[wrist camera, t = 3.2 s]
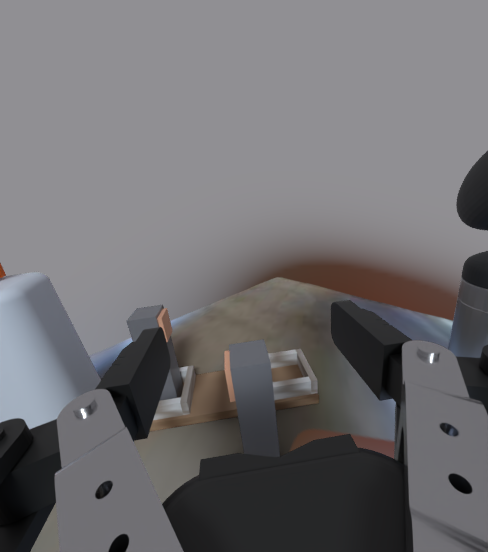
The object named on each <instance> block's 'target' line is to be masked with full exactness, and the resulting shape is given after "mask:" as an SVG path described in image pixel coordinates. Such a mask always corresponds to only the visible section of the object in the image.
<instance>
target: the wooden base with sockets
mask: <svg viewBox="0 0 488 552" xmlns="http://www.w3.org/2000/svg"><path fill="white" fill-rule="evenodd" d="M268 355H269V359H270V362H271V371H272V381H273V391H274V401H275V410H281V409H287V408H293V407H299V406H304V405H310V404H316V403H319V395H318V389H317V379H316V377H315V375H314V373H313V371H312V369H311V367H310V366H309V364H308V362H307V360H306V358H305V356H304V354H303V352H302V351H301V349H296V350H290V351H283V352H277V353H270V354H268ZM179 371H180V375H181V379H182V383H183V391H182V395H181V397H179V398H173V399H167V400H161V401H159V404H158V407H157V410H156V413H155V416H154V419H153V422H152V425H151V428H150V431H155V430H161V429H167V428H173V427H179V426H185V425H191V424H197V423H203V422H209V421H215V420H221V419H227V418H233V417H238V413H237V407H236V401H234V402H230V398H229V392H228V387H227V381H226V375H225V370H223V371H216V372H210V373H204V374H197V375H196V374H195V370H194V366H187V367H181V368H179ZM150 431H149V432H150Z"/></svg>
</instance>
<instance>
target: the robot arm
mask: <svg viewBox="0 0 488 552" xmlns="http://www.w3.org/2000/svg"><path fill="white" fill-rule="evenodd" d="M457 212H458V214H459V217H460V218H461V220H462V221H463V222H464V223H465V224H466V225H468V226H470V227H472V228H476V229H480V230H488V151H487V152H486V153H485V154H484V155H483V156H482V157H481V158H480V159H479V160H478V161H477V162H476V163H475V165H474V166H473V167H472V168H471V170H470V171H469V173H468V174H467V176H466V177H465V179H464V181H463V183H462V185H461V188H460V190H459V193H458V197H457ZM331 334H332V339H333V341H334V343H335V345H336V346H337V348H338V349H339V350H340V351H341V353H342V354H343V355H344V356H345V358H346V359H347V360H348V361H349V363H350V364H351V365H352V366H353V368H354V369H355V370H356V371H357V373H358V374H359V375H360V376H361V378H362V379H363V380H364V381H365V383H366V384H367V385H368V386H369V388H370V389H371V390H372V391H373V393H374V394H375V395H376V396H377V398H378V399H379V400H386V399H392V398H393V399H394V400H395V402H396V407H395V453H394V454H395V455H394V459H393V458H391V457H388V456H386V455H384V454H381V453H378V452H375V451H372V450H368V449H363V448H357V446H356V444H355V442H354V441H353V439H352V437H351V435H350V434H347V435H341V436H335V437H329V438H324V439H318V440H313V441H311V442H309V443H307V444H305V445H303V446H301V447H299V448H297V449H295V450H293V451H291V452H289V453H287V454H285V455H283V456H280V457H270V456H260V455H251V454H241V453H236V454H230V455H225V456H219V457H213V458H207V459H201V462H200V473H199V475H198V476H196V477H194V478H192V479H191V480H189V481H187V482H186V483H184V484H183V485H182V486H181V487H179V488H178V489H177V490H175V491H174V492H173V493H172V494H171V495H170V496H169V497H168V498H167V499H166V500H165V501H164V503H163V504H162V503H161V501H160V499H159V497H158V495H157V492H156V490H155V488H154V486H153V484H152V481H151V479H150V477H149V475H148V473H147V470H146V468H145V466H144V464H143V462H142V460H141V457H140V455H139V453H138V451H137V449H136V446H135V444H134V440H139V439H145V438H147V437H148V434H149V431H150V428H151V425H152V422H153V419H154V416H155V413H156V410H157V407H158V404H159V401H160V398H161V395H162V392H163V389H164V386H165V383H166V380H167V377H168V374H169V370H170V363H171V362H170V354H169V350H168V346H167V342H166V338H165V335H164V331H163V329H162V328H161V327H157V328H150V329H144V330H143V331H142V332H141V334H140V336H139V337H138V339H137V340H136V341H135V342H132V343H130V344H129V345H128V346H127V347H125V348H124V349H123V350H122V351H121V353H120V354H119V356H118V357H117V360H115V361H114V363H113V364H112V367H110V368H109V370H108V371H107V373H106V374H105V376H104V377H103V378H102V380H101V381H100V383H99V384H98V386H97V387H96V388H95V390H92V391H89V392H86V393H84V394H82V395H80V396H78V397H77V398H75V399H74V400H72V401H71V402H70V403H69V404H67V405H66V406H65V407H64V408H63V409H62V411H61V412H60V414H59V415H58V418H57V419H55V420H53V421H50V422H47V423H45V424H42V425H40V426H37V427H34V428H32V429H29V428H28V426H27V424H26V422H25V421H24V420H23V419H21V418H15V419H10V420H6V421H3V422H1V423H0V552H30V551H31V549H32V547H33V545H34V543H35V541H36V539H37V537H38V535H39V534H40V532H41V530H42V528H43V526H44V524H45V522H46V520H47V518H48V516H49V514H50V512H51V511H52V509H53V507H54V505H55V503H56V507H57V521H58V534H59V548H60V552H488V251H486V252H482V253H479V254H476V255H473V256H471V257H469V258H468V259H467V260H466V261H465V263H464V266H463V271H462V277H461V282H460V288H459V293H458V299H457V304H456V310H455V315H454V320H453V325H452V331H451V336H450V342H449V347H448V349H447V348H445V347H443V346H441V345H438V344H435V343H432V342H428V341H421V340H411V339H410V338H408V337H407V336H406V335H404V334H403V333H401V332H400V331H399V330H397V329H396V328H394V327H393V326H392V325H389V323H387V322H386V321H385V320H382V318H381V317H379V316H378V315H376V314H375V313H373V312H370V311H368V310H365V309H361V308H360V307H358V306H357V305H356V304H354V303H353V302H352V301H350V300H346V301H339V302H333V303H332V305H331Z"/></svg>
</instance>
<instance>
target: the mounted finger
mask: <svg viewBox="0 0 488 552" xmlns="http://www.w3.org/2000/svg"><path fill="white" fill-rule="evenodd" d="M127 324H128V327H129V331H130V334H131V337H132V340H133V342H135V341H136V340H137V339H138V337H139V336H140V334H141V332H142V331H143V330H144V329H150V328H157V327H161V328H162V329H163V331H164V335H165V338H166V342H167V346H168V350H169V354H170V362H171V363H170V370H169V374H168V377H167V380H166V383H165V386H164V389H163V392H162V395H161V398H160V401H161V400H167V399H173V398H179V397H181V395H182V391H183V383H182V379H181V375H180V371H179V367H178V363H177V359H176V355H175V351H174V347H173V343H172V339H171V333H172V327H171V323H170V319H169V315H168V311H167V308H165V309H164V307H163V305H158V306H151V307H144V308H137V309H136V310H135V311H134V313H133V314H132V315H131V316H130V317H129V319H128V320H127Z"/></svg>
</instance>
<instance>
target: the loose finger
mask: <svg viewBox="0 0 488 552" xmlns="http://www.w3.org/2000/svg"><path fill="white" fill-rule="evenodd" d="M225 375H226V381H227V387H228V392H229V398H230V402H234V401H236V407H237V413H238V419H239V425H240V431H241V437H242V443H243V448H244V454H251V455H260V456H270V457H280V451H279V441H278V431H277V421H276V411H275V401H274V391H273V381H272V371H271V362H270V359H269V355H268V352H267V349H266V345H265V342H264V339H263V340H257V341H250V342H244V343H237V344H231V345H229V351H225Z"/></svg>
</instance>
